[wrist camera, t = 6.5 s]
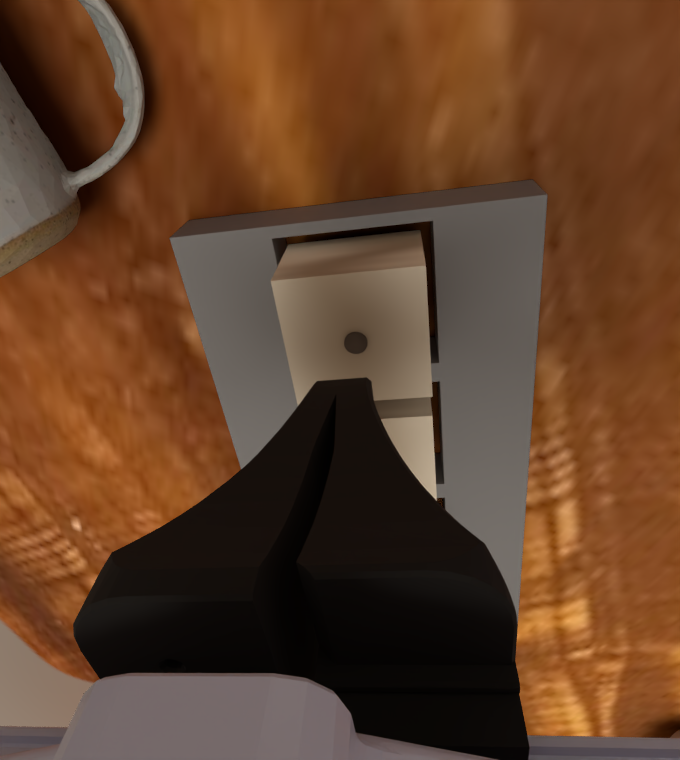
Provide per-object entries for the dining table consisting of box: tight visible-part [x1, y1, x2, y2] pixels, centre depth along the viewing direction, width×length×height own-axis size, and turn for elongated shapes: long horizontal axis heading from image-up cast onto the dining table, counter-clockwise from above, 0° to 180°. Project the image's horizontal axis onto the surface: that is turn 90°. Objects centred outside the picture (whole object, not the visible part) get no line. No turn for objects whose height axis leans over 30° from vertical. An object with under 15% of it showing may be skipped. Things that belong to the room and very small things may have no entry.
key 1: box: [271, 230, 433, 405], centre depth 17 cm, size 4×4×3 cm
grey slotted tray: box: [170, 179, 547, 624], centre depth 24 cm, size 12×24×2 cm, turn 8°
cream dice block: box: [374, 397, 437, 501], centre depth 22 cm, size 4×4×3 cm
